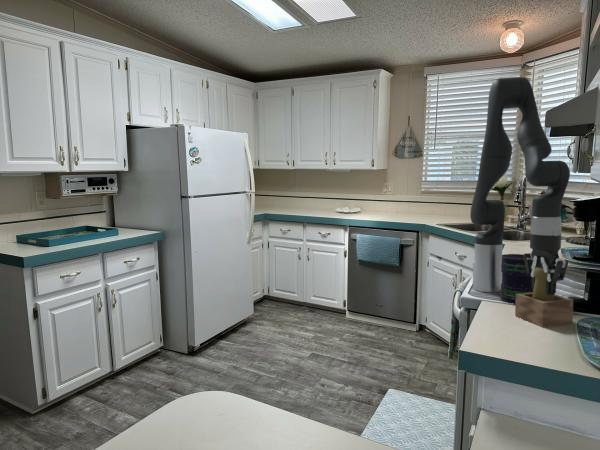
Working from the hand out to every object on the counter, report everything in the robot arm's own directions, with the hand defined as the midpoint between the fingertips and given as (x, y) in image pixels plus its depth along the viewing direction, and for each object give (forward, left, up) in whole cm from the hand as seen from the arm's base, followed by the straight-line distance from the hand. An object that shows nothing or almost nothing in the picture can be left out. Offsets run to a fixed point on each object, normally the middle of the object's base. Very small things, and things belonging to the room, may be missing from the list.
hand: (543, 291), depth 118 cm
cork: (0, 0, -4) cm, 4 cm away
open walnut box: (0, 0, -8) cm, 8 cm away
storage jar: (-19, +7, -8) cm, 22 cm away
